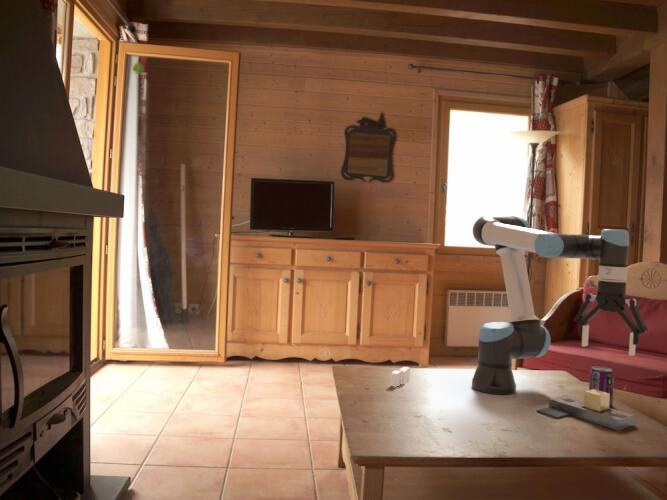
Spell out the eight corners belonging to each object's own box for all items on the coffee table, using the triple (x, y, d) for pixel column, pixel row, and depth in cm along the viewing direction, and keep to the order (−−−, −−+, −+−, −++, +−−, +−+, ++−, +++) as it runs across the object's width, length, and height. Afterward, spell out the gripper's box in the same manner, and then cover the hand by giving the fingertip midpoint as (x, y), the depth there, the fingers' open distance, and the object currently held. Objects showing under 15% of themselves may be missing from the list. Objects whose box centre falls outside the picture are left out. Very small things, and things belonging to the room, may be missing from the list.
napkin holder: (406, 379, 197) (407, 364, 197) (424, 387, 187) (425, 371, 187) (372, 382, 191) (373, 367, 190) (389, 391, 180) (390, 374, 180)
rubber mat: (536, 411, 163) (536, 410, 163) (550, 408, 167) (550, 406, 167) (557, 418, 157) (557, 416, 157) (570, 415, 161) (570, 413, 161)
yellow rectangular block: (583, 417, 159) (584, 391, 159) (592, 414, 162) (593, 389, 162) (599, 422, 155) (600, 395, 155) (608, 419, 158) (609, 393, 158)
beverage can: (615, 409, 169) (617, 372, 168) (591, 406, 170) (593, 370, 170) (608, 402, 176) (610, 367, 175) (585, 400, 177) (587, 365, 177)
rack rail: (548, 408, 167) (549, 398, 167) (565, 404, 172) (565, 394, 172) (617, 430, 149) (618, 419, 149) (634, 425, 154) (634, 414, 154)
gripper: (565, 276, 164) (561, 343, 165) (653, 285, 145) (648, 361, 146) (576, 276, 169) (572, 341, 170) (663, 284, 150) (658, 357, 151)
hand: (607, 350), depth 158 cm, fingers open, 13 cm apart
